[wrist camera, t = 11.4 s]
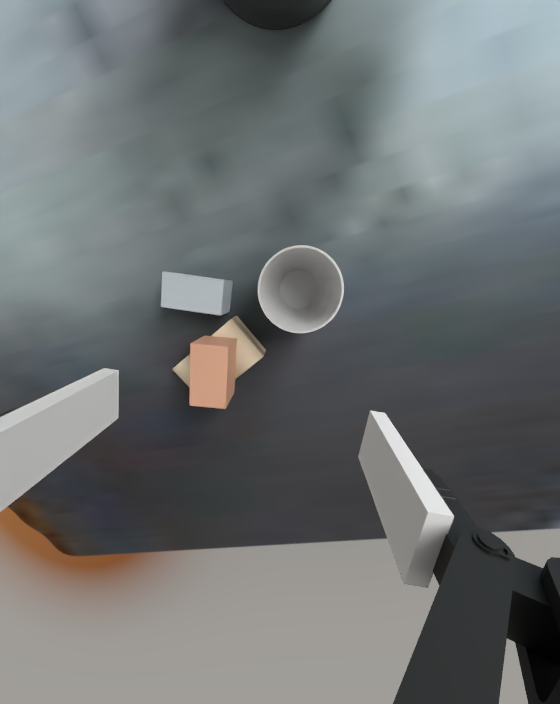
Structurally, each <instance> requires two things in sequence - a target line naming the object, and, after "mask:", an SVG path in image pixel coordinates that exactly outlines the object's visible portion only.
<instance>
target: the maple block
mask: <svg viewBox="0 0 560 704" xmlns="http://www.w3.org/2000/svg"><path fill="white" fill-rule="evenodd" d="M212 336H216V337H227V338H237V350H236V370H235V379H236V378H237V377H239V376H240V375H241V374H242V373H244V372H245V371H246V370H247V369H249V368H250V367H251V366H252V365H254V364H255V363H256V362H257V361H259V360H260V359H261V358H262V357H264V354H265V352H266V349H265V348H264V347H263V346H262V345H261V343H260V342H259V341H258V340H257V339H256V337H255V336H254V335H253V334H252V333H251V332H250V330H249V329H248V328H247V327H246V326H245V324H244V323H243V322H242V321H241V320H240V319H239V317H238V316H235V317H233V318H232V319H230V320H229V321H228V322H227V323H226V324H224V325H223V326H222V327H221V328H220V329H219V330H217V331H216V332H215V333H214V334H213V335H212ZM173 370H174V371H175V373H176V374H177V375H178V376H179V377H180V378H181V379H182V380H183V381H184V382H185V383H186V384H187V385H188V387H189V388H190V354H189V355H188V356H187V357H186V358H185V359H183V360H182V361H181V362H180V363H179V364H178V365H176V366H175V367H174V368H173Z"/></svg>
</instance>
